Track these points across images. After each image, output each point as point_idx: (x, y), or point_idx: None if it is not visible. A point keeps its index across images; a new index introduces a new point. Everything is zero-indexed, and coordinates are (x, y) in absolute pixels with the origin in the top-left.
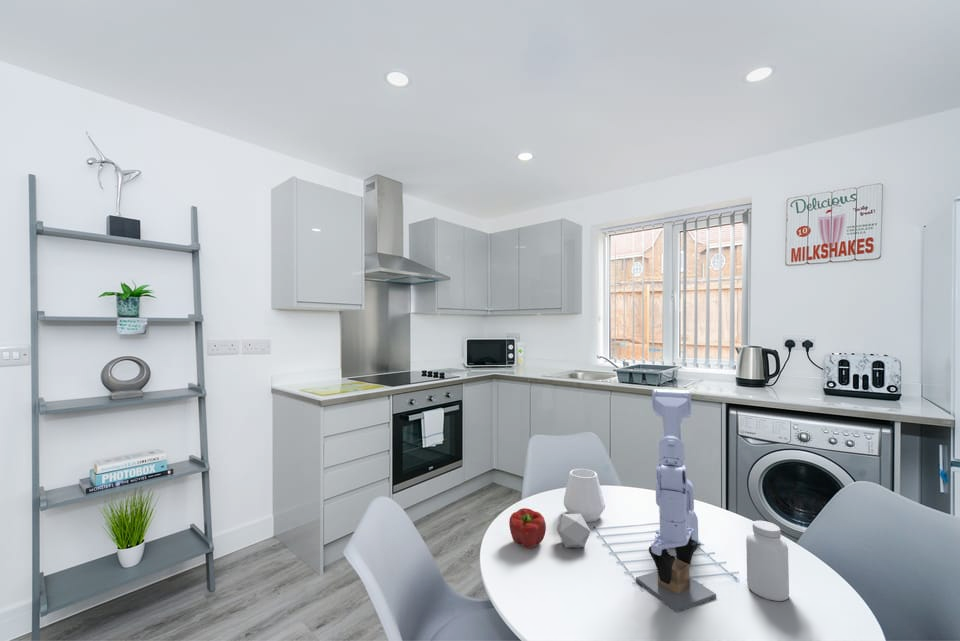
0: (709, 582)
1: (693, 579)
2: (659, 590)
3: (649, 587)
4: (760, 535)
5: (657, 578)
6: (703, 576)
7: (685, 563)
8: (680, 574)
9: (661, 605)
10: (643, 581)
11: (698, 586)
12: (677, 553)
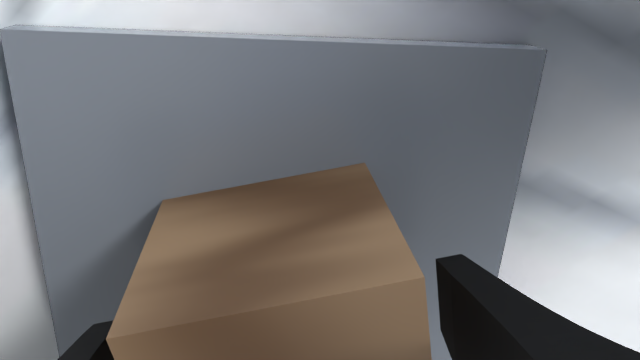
0: (589, 290)
1: (496, 272)
2: (96, 279)
3: (34, 216)
4: None
5: (219, 143)
6: (633, 226)
7: None
8: None
9: (23, 352)
10: (38, 122)
11: (441, 342)
12: (517, 357)
